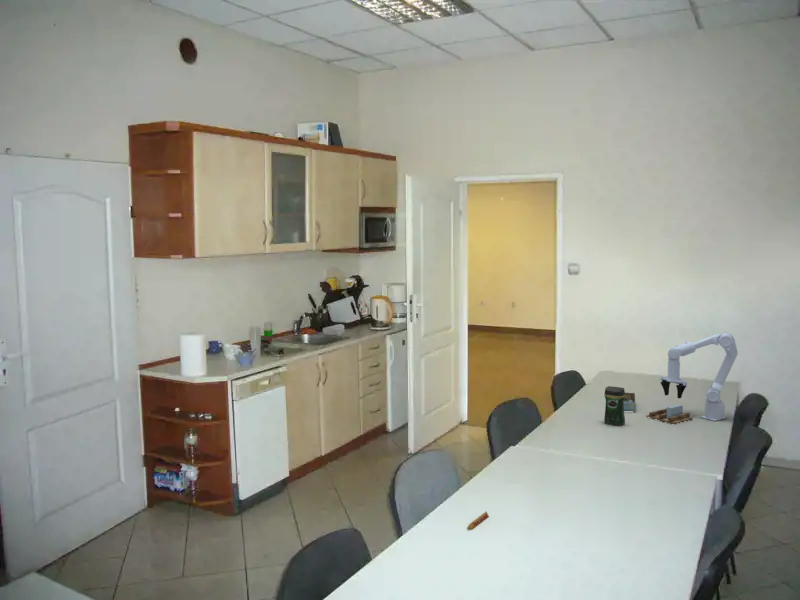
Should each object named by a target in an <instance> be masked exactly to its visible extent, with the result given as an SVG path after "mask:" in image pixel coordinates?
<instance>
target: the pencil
mask: <svg viewBox="0 0 800 600" xmlns="http://www.w3.org/2000/svg"><path fill="white" fill-rule="evenodd" d="M488 518H490V516H489V514H488V512H487V511H485V512H484V513H482V514H481V515H479V516H478V517H477V518H475V519H474V520H472V522H470V523H469V524H468V526H467V527H466V529H467V530H469V531H470V530H471V531H473V530H474V529H476V528H477V527H478V526H479V525H481V524H482V523H484V521H486V520H487V519H488Z"/></svg>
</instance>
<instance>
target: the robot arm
mask: <svg viewBox="0 0 800 600" xmlns="http://www.w3.org/2000/svg"><path fill="white" fill-rule="evenodd" d="M710 345H714V346H715V345H716V346H721V347H722V349H724V351H725V353H726V354H725V357H724V359H723V361H722V364H721V365H720V367H719V370H718V371H717V374H716V376H715V378H714V381H712V384H711V385H710V386H709V387H708V388H707V389H706V395H705V396H706V398H705V399H704V400H705V401H704V415H702V416H700V417H702V418H701V419H704V420H705V419H706V420H709V421H714V422H716V421H720V420H724V419H726V418H727V417H726V415H725V411H726V409H725V408H726V404H725V403H724V401H723V400H721V399H720V398H721V392H722V390H723V389H722V388H723V386H724V384H725V382H726V380H727V377H728V376H729V374H730V372H731V369H732V367H733V366H734V363H735V361H736V359H737V356H738V354H739V353H738V349H737V344H736V340H735V338H734V336H733V334H731V333H730V332H727V331H723V332H722V333H717V334H714V335H710V336H708V337H706V338H703V339H701V340H697V341H696V342H692V341H684V343H682V344H679V345H678V344H677V345H675V346H672V347H670V348H669V349H668V352H667V356H668V359H667V376H664V375H663V376H660V377H659V378H660V379H659V380H660V386H661V387H662V389H663V392H664V396H669V394H670V386H671V383H673V384H676V385H675V386H676V390H677V393H676V394H677V396H676V397H677V399H682V397H683V393H684V392H685V389H686V388H687V386H688V381H687V380H683V379H680V372H681V361H680V357H685V356H688V355H690V354H693V353H695V352H696V350H698V349H700V348H703V347H706V346H710Z"/></svg>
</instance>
